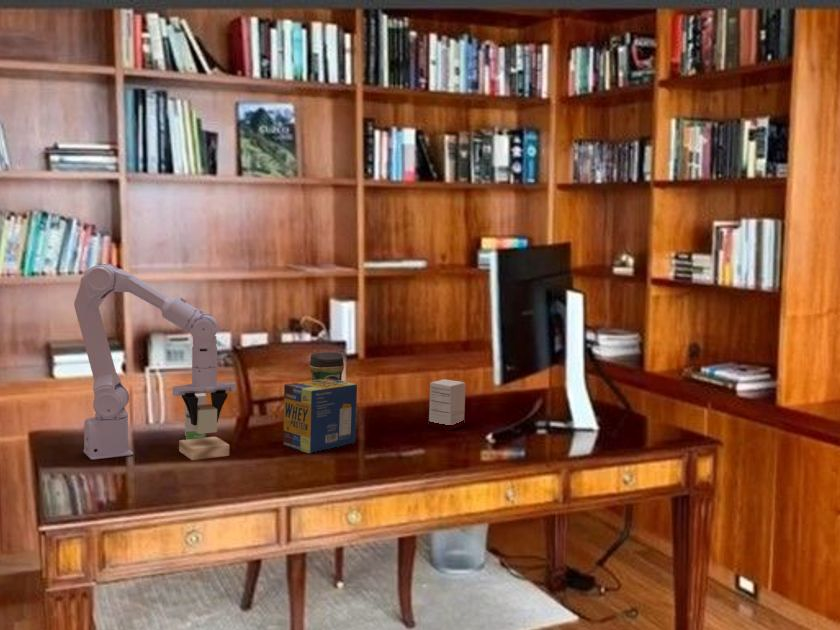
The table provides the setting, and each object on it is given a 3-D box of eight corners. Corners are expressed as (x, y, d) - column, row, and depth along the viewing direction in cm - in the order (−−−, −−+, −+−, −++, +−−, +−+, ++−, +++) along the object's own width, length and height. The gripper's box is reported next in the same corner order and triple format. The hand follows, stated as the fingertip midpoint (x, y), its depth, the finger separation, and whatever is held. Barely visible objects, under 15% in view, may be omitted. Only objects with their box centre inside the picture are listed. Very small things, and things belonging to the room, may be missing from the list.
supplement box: (442, 422, 244) (444, 378, 243) (464, 426, 240) (466, 382, 239) (427, 427, 238) (429, 382, 237) (450, 431, 234) (451, 385, 233)
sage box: (198, 433, 201) (198, 408, 200) (192, 429, 204) (193, 405, 204) (216, 432, 203) (217, 407, 202) (210, 428, 207) (211, 403, 206)
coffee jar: (336, 412, 253) (337, 350, 251) (346, 418, 246) (348, 353, 244) (305, 415, 249) (306, 351, 247) (314, 420, 242) (316, 355, 240)
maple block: (191, 461, 198) (191, 449, 198) (179, 452, 206) (179, 440, 205) (229, 457, 203) (229, 444, 203) (215, 448, 211) (215, 436, 210)
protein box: (282, 445, 213) (283, 384, 212) (329, 436, 225) (330, 377, 223) (309, 454, 206) (310, 390, 205) (356, 443, 218) (358, 383, 216)
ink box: (206, 441, 215) (206, 395, 214) (186, 442, 214) (186, 395, 212) (204, 433, 223) (204, 388, 222) (184, 434, 222) (184, 389, 221)
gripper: (179, 371, 195) (179, 430, 196) (240, 366, 203) (240, 423, 204) (169, 366, 201) (169, 423, 202) (229, 362, 209) (229, 417, 210)
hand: (204, 423), depth 204 cm, fingers closed on sage box, 4 cm apart
